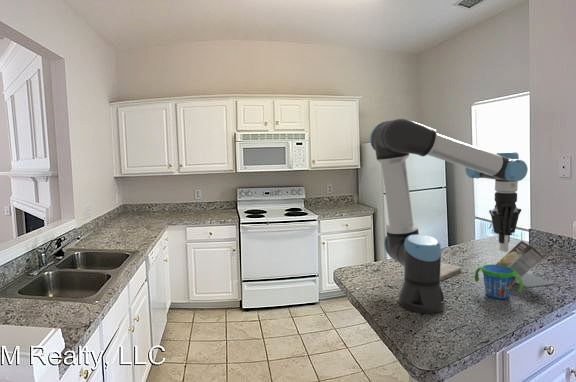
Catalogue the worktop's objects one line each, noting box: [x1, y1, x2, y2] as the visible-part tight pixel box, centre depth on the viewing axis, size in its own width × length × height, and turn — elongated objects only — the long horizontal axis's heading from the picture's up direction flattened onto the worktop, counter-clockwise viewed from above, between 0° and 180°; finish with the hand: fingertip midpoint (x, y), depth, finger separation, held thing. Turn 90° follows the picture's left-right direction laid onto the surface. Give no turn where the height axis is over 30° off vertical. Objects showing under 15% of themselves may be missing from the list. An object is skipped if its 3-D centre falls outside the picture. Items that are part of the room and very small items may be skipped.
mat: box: [515, 272, 555, 289], centre depth 145 cm, size 13×16×1 cm
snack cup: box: [474, 264, 524, 300], centre depth 129 cm, size 16×10×10 cm
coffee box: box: [495, 240, 545, 286], centre depth 140 cm, size 9×6×16 cm
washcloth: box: [440, 261, 463, 282], centre depth 155 cm, size 12×18×3 cm, turn 128°
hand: (503, 250), depth 141 cm, fingers closed
